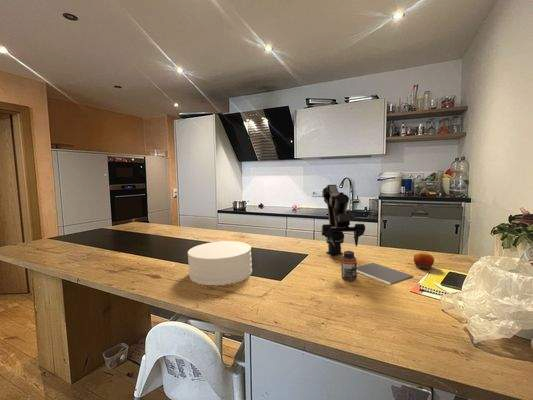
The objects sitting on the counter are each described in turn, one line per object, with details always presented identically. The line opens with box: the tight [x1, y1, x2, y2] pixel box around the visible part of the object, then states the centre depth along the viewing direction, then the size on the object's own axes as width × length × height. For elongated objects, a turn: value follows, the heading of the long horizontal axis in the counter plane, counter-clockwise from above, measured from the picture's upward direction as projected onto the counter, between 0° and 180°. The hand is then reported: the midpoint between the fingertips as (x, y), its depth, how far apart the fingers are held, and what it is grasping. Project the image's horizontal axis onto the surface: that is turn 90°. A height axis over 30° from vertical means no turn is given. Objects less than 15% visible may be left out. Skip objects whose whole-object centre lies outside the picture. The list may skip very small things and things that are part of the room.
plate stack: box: [187, 240, 253, 286], centre depth 122 cm, size 28×28×12 cm
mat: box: [357, 262, 414, 286], centre depth 116 cm, size 20×16×1 cm
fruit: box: [413, 251, 435, 271], centre depth 121 cm, size 8×8×8 cm
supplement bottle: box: [341, 250, 358, 282], centre depth 111 cm, size 6×6×11 cm
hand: (345, 246), depth 116 cm, fingers open, 9 cm apart
